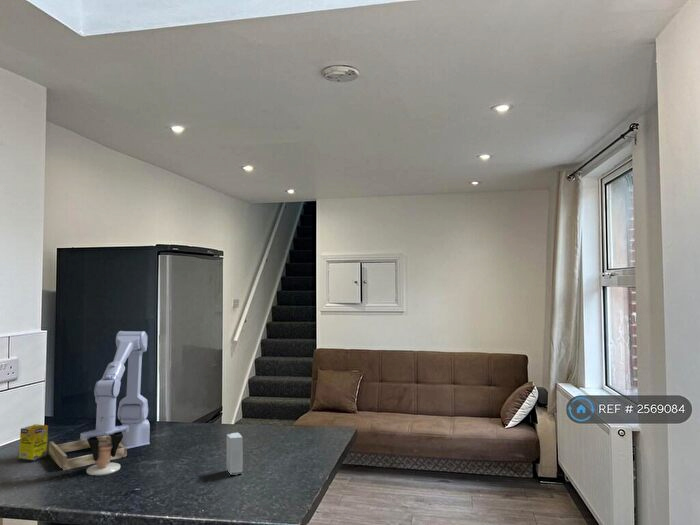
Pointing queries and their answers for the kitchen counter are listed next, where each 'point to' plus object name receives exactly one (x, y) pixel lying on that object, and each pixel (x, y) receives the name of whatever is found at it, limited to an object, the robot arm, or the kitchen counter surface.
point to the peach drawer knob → (104, 454)
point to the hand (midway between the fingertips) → (104, 457)
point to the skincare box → (234, 453)
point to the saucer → (103, 469)
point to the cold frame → (61, 457)
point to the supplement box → (33, 442)
